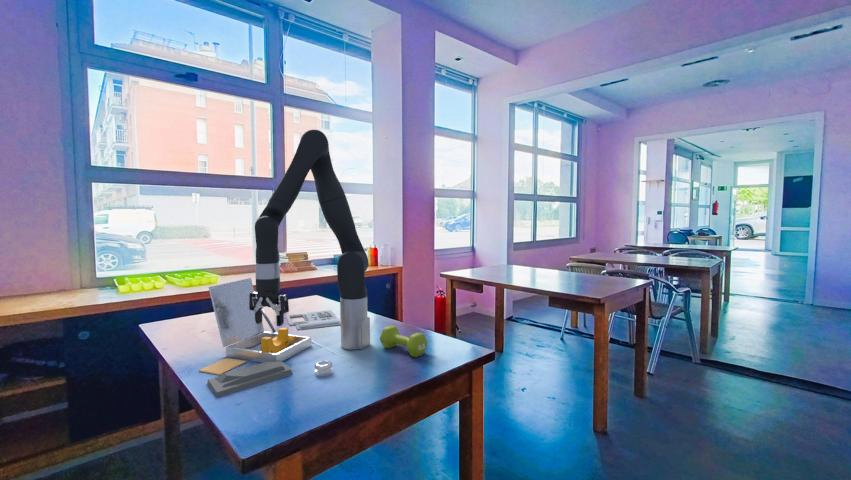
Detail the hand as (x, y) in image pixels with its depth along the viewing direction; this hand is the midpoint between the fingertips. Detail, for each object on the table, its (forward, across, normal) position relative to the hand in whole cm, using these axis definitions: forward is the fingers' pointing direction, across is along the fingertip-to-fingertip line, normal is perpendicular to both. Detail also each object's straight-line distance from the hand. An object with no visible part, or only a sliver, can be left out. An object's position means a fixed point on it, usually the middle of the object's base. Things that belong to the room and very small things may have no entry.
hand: (269, 324), depth 131 cm
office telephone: (+10, +8, -35) cm, 37 cm away
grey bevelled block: (+10, -11, +20) cm, 24 cm away
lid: (-4, +13, 0) cm, 13 cm away
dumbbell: (+9, -42, -15) cm, 46 cm away
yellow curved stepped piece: (+10, -1, 0) cm, 10 cm away
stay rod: (+7, +9, -10) cm, 15 cm away
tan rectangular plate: (+9, +4, +16) cm, 18 cm away
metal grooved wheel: (+9, -27, +9) cm, 30 cm away
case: (+9, 0, 0) cm, 9 cm away
